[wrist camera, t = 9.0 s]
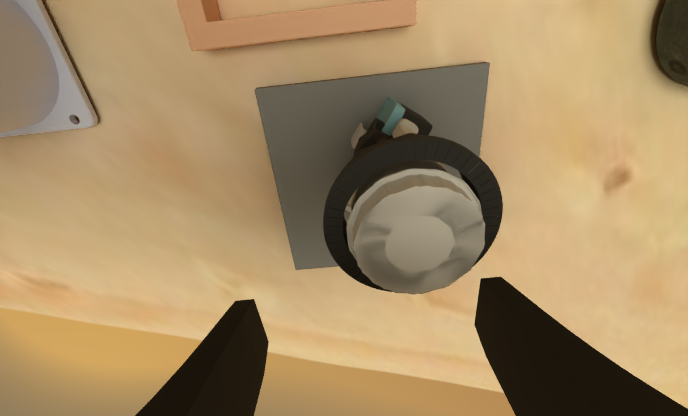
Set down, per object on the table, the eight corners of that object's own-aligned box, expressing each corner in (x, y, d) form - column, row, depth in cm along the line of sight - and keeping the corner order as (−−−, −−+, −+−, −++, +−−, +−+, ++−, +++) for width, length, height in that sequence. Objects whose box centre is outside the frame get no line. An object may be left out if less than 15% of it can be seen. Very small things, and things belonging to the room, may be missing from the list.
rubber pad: (296, 264, 22) (295, 269, 21) (257, 87, 16) (254, 89, 16) (464, 249, 21) (468, 254, 21) (484, 62, 16) (489, 62, 15)
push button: (381, 215, 19) (414, 358, 10) (305, 178, 18) (271, 305, 9) (446, 122, 17) (565, 211, 8) (362, 71, 15) (389, 107, 6)
